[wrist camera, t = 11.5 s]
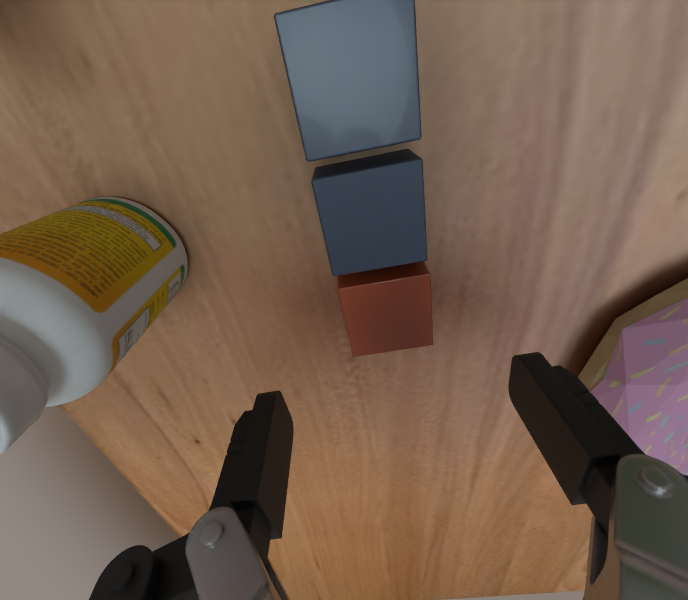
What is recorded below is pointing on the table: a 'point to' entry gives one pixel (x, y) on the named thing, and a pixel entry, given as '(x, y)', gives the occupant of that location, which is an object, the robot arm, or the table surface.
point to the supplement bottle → (78, 301)
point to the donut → (647, 375)
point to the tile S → (387, 308)
